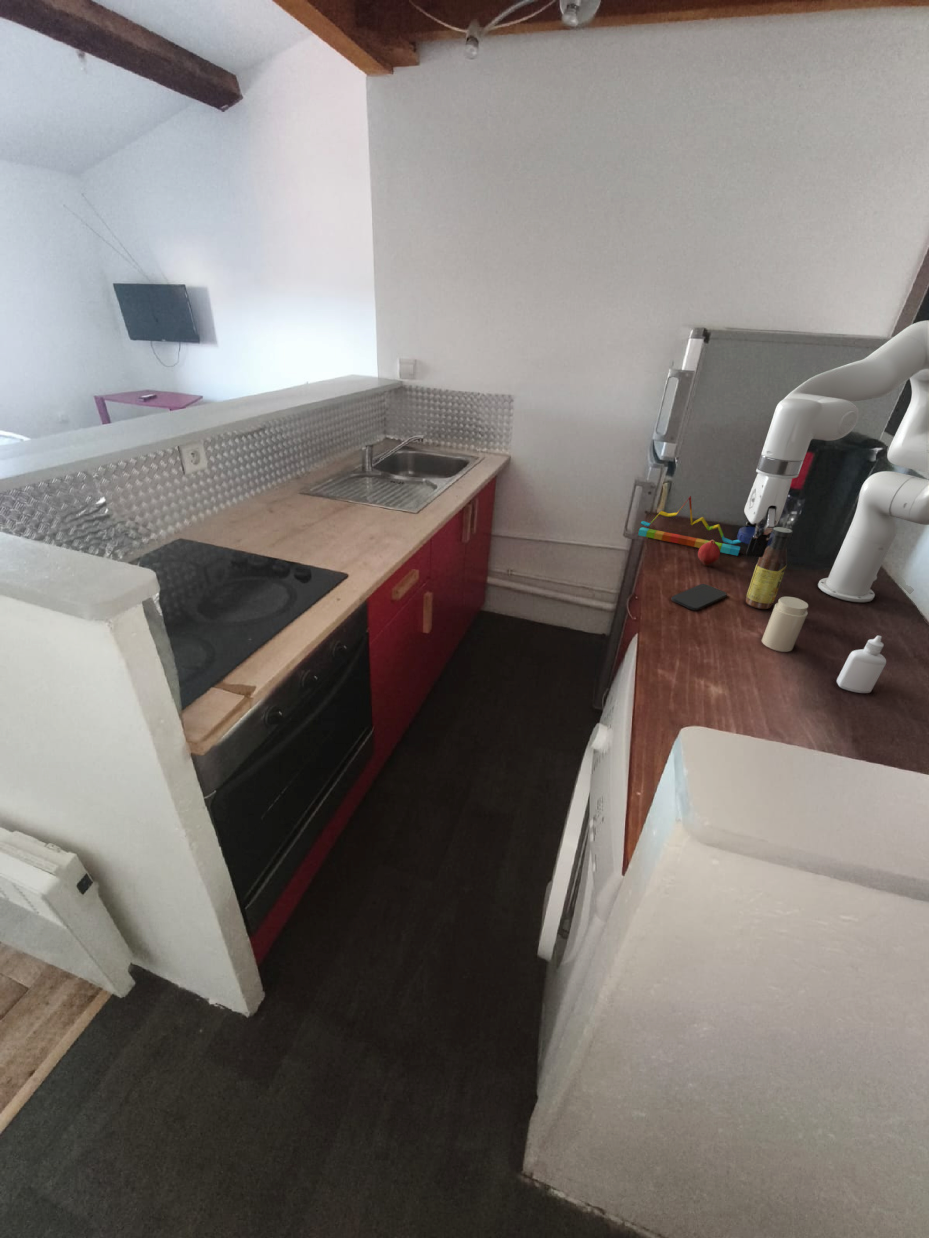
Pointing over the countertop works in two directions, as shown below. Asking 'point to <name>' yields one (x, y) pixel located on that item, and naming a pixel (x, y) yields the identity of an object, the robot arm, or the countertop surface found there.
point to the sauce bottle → (769, 571)
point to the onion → (709, 552)
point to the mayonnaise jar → (785, 624)
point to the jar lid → (750, 535)
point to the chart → (685, 539)
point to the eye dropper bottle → (863, 668)
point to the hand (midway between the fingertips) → (751, 548)
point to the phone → (699, 597)
